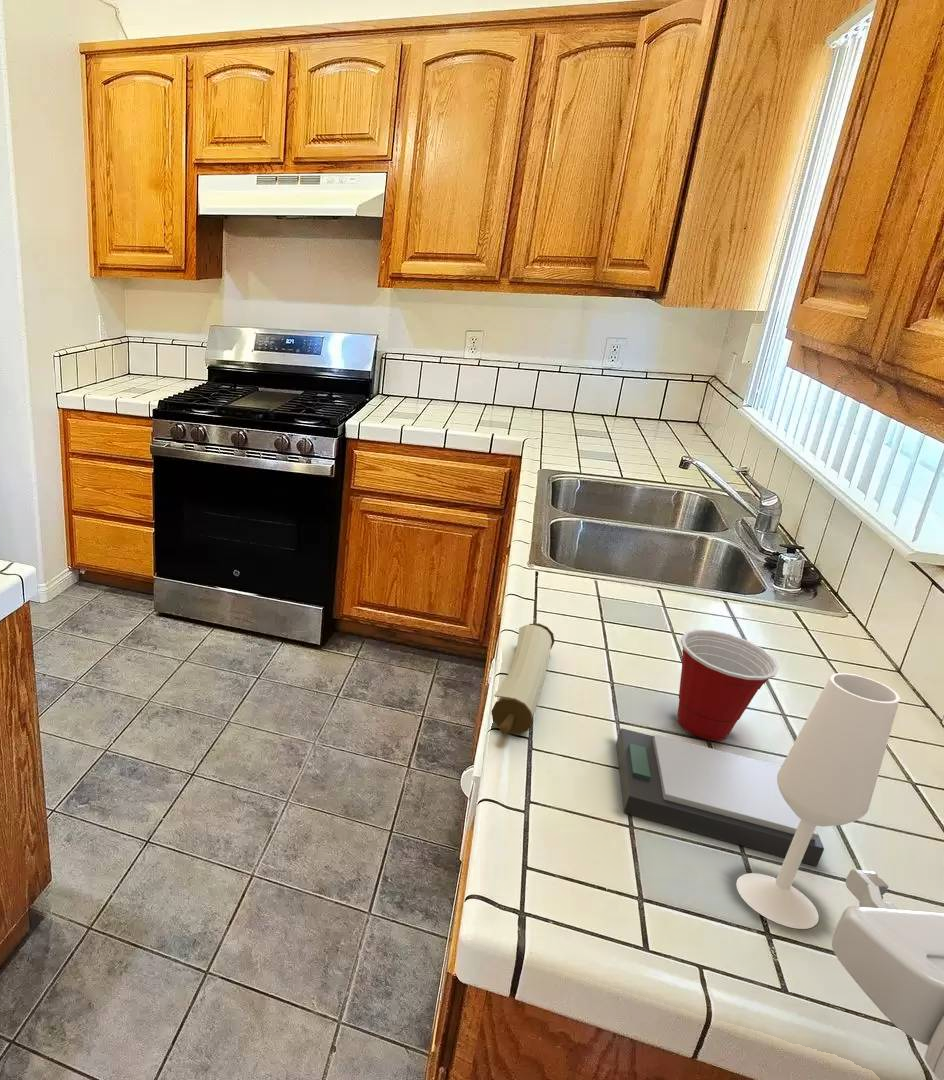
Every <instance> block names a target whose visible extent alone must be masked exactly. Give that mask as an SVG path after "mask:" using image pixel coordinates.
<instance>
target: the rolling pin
mask: <svg viewBox="0 0 944 1080" xmlns="http://www.w3.org/2000/svg"><path fill="white" fill-rule="evenodd" d="M554 644H555V636H554V633H553V631H552V630H551V629H550V628H549V627H548V626H546V625H544V624H542V623H529V624H525V625H523V626H521V627H518V635H517V643H516V648H515V653H514V657H513V662H512V664H511V667H510V669H509V670H508V674H507V676H506V678H505V680H504V681H503V683H502V684H501V685H500V687H499V688H498V689H497V691H496V692H495V693H494V695H493V697H494V698H498V700H497V701H495V703H494V705H493V707H492V709H491V717H492V721H493V722H494V724H495V725H496V727H498V729H499V732H500V733H501V734H503V735H506V734H509V735H522V734H524V733H525V732H528V731H529V730H530V727H532V723H533V722H534V719H533V716H534V714H535V711H536V709H537V705H538V702H539V699H540V696H541V692H542V689H543V686H544V682H545V678H546V673H547V670H548V664H549V660H550V654H551V650H552V648H553V646H554Z"/></svg>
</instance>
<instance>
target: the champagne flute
mask: <svg viewBox="0 0 944 1080" xmlns="http://www.w3.org/2000/svg"><path fill="white" fill-rule="evenodd" d="M900 700H901V697H900V695H899V694H898V692H896V691H895V690H894V689H893V688H891V687H889V686H888V685H886V684H884V683H882V682H879V681H877V680H875V679H872V678H869V677H867V676H863V675H859V674H854V673H848V672H836V673H833V674H831V675H830V676H829V678H828V680H827V682H826V683H825V685H824V688H823V689H822V691H821V693H820V694H819V696H818V698H817V700H816V702H815V703H814V706H813V708H812V709H811V711H810V713H809V715H808V717H807V718H806V720H805V722H804V724H803V726H802V728H801V729H800V730H799V733H798V735H797V737H796V739H795V741H794V742H793V744H792V746H791V748H790V750H789V751H788V753H787V755H786V757H785V759H784V760H783V762H782V764H781V765H782V766H781V768H780V770H779V772H778V774H777V783H778V787H779V790H780V792H781V794H782V796H783V798H784V800H785V801H786V803H787V804H788V805H789V807H790V808H791V809H792V810H793V812H794V813H795V814H796V815H797V816H798V817H799V818H800V819H801V820H800V823H799V825H798V828H797V830H796V833H795V835H794V837H793V840H792V842H791V845H790V847H789V850H788V852H787V855H786V857H785V858H784V860H783V861H782V865H781V867H780V870H779V872H778V874H777V877H773V876H771V875H767V874H764V873H763V874H762V873H756V872H750V873H744V874H742V875H740V876H739V877H738V878H737V880H736V883H735V886H736V890H737V892H738V894H739V896H740V897H741V899H742V900H743V901H744V902H745V903H746V904H747V906H749V907H750V908H751V909H752V910H754V911H755V912H756V913H758V914H759V915H761V916H762V917H764V918H766V919H768V920H769V921H772V922H774V923H775V924H777V925H781V926H784V927H786V928H787V927H788V928H791V929H796V930H797V929H798V930H807V929H811V928H814V927H815V926H817V924H818V922H819V918H820V916H819V913H818V910H817V908H816V906H815V905H814V903H812V901H811V900H810V899H809V898H808V897H807V896H806V895H805V894H803V892H801V891H800V890H799V889H797V888H796V887H794V886H793V885H792V884H793V882H794V880H795V879H796V875H797V873H798V871H799V868H800V866H801V864H802V862H801V861H802V859H803V856H804V854H805V851H806V849H807V847H808V844H809V842H810V839H811V837H812V835H813V832H814V830H815V828H816V827H820V828H821V827H823V828H824V827H835V826H836V827H837V826H845V825H847V824H852V823H854V822H856V821H859V820H860V819H862V818H863V817H865V816H866V815H867V813H868V812H869V810H870V806H871V801H872V798H873V795H874V792H875V788H876V784H877V781H878V777H879V774H880V770H881V767H882V763H883V760H884V757H885V754H886V749H887V745H888V742H889V739H890V735H891V732H892V728H893V725H894V721H895V717H896V714H897V711H898V707H899V703H900ZM816 829H817V828H816Z"/></svg>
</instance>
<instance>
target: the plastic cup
mask: <svg viewBox="0 0 944 1080" xmlns="http://www.w3.org/2000/svg"><path fill="white" fill-rule="evenodd" d="M680 642H681V646H682V652H681V653H682V656H681V661H682V663H681V670H680V671H681V672H680V681H679V689H678V690H679V691H678V699H679V700H678V706H677V707H678V709H677V721H678V725H679V726H680V727H681V728H682V729H683V730H684V731H686V732H688V733H689V734H691V735H692V736H695V737H698V738H700V739H702V740H703V739H704V740H708V741H723V740H725V739H726V738H727V737H728V736H729V735H730V734H731V732H732V730H733V729H734V727H735V725H736V723H737V722H738V721H739V720H740V719H741V718H742V716H743V714H744V713H745V711H746V710H747V708H748V706H749V705H750V703H751V702H752V700H754V699H753V698H754V697H755V695H756V694H757V692H758V691H759V690H760V689H761V688H762V687H763V686H764V685H765V684H766V682H767V681H769V680H770V679H772V678H774V677H776V675H778V673H779V671H780V665H779V663H778V662H777V660H776V658H774V657H773V656H772V655H771V654H770V653H769V652H767V651H766V650H765V649H764V648H763V647H760V646H758V645H756V644H755V643H753V642H751V641H749V640H748V639H745V638H742V637H739V636H737V635H734V634H731V633H729V632H728V633H727V632H723V631H720V630H719V631H718V630H715V629H701V628H700V629H697V628H695V629H691V630H688V631H685V632H684V634H683V635H682V636H681V637H680Z"/></svg>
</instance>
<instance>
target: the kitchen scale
mask: <svg viewBox="0 0 944 1080" xmlns="http://www.w3.org/2000/svg"><path fill="white" fill-rule="evenodd" d="M616 753H617V762H618V771H619V780H620V788H621V789H620V790H621V799H622V807H623V813H624V814H627V815H631V816H635V817H637V818H641V819H645V820H649V821H652V822H656V823H659V824H663V825H666V826H670V827H673V828H677V829H681V830H684V831H688V832H691V833H695V834H699V835H702V836H706V837H709V838H713V839H717V840H719V841H723V842H727V843H730V844H733V845H734V844H735V845H738V846H742V847H745V848H749V849H752V850H756V851H759V852H763V853H766V854H770V855H774V856H776V857H777V856H778V857H781V858H784V859H785V857H786V855H787V852H788V850H789V847H790V845H791V842H792V840H793V837H794V835H795V833H796V830H797V828H798V825H799V823H800V820H801V819H800V818H799V817H798V816H797V815H796V814H795V813H794V812H793V810H792V809H791V808H790V807H789V805H788V804H787V803H786V801H785V800H784V798H783V796H782V794H781V792H780V790H779V787H778V783H777V774H778V772H779V770H780V768H781V766H782V764H778V763H773V762H769V761H764V760H761V759H757V758H754V757H753V758H752V757H748V756H744V755H740V754H736V753H732V752H727V751H724V750H720V749H716V748H711V747H707V746H704V745H699V744H695V743H691V742H687V741H682V740H678V739H675V738H671V737H667V736H662V735H657V734H653V735H650V734H647V733H642V732H638V731H634V730H631V729H627V728H622V727H621V728H620V729H619V733H618V736H617V740H616ZM824 850H825V847H824V845H823V842H822V840H821V838H820V836H819V833H818V830H817V828H815V830H814V832H813V835H812V837H811V839H810V842H809V844H808V847H807V849H806V851H805V854H804V856H803V859H802V861H801V864H802V863H803V864H806V865H810V866H812V867H818V865H819V862H820V860H821V858H822V856H823V853H824Z"/></svg>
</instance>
